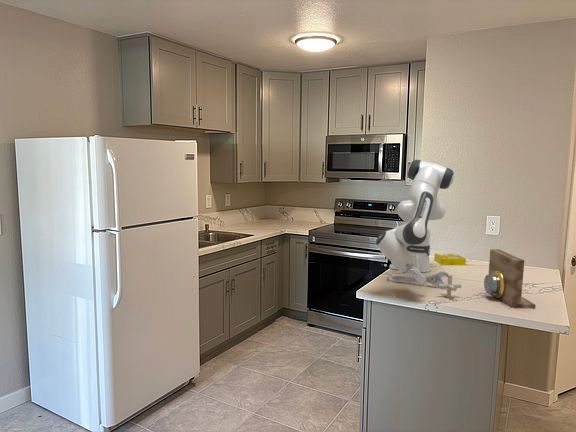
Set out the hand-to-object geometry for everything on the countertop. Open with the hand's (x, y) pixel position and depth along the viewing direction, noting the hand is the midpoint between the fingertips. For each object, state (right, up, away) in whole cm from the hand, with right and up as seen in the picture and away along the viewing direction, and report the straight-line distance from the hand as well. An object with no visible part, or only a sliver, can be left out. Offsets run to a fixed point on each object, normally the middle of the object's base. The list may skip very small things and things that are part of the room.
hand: (425, 284), depth 195 cm
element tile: (+37, +2, +73) cm, 82 cm away
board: (+37, -6, -1) cm, 37 cm away
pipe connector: (+10, -6, 0) cm, 12 cm away
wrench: (+2, -3, +19) cm, 20 cm away
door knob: (+29, -5, -1) cm, 30 cm away
